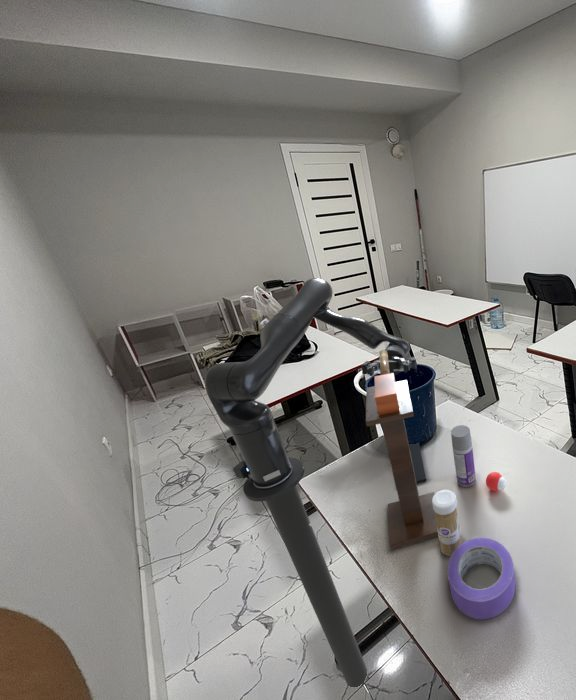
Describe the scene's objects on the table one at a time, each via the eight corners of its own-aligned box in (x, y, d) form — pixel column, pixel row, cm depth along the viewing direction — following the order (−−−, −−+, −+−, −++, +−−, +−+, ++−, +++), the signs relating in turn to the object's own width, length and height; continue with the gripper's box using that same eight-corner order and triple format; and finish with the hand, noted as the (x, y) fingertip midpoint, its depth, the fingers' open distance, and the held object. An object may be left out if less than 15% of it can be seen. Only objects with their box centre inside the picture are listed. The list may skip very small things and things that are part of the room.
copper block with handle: (399, 411, 61) (396, 393, 60) (378, 415, 61) (374, 397, 59) (392, 357, 82) (389, 343, 80) (376, 360, 81) (373, 346, 80)
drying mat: (394, 447, 103) (394, 445, 102) (418, 441, 104) (418, 440, 104) (398, 487, 88) (398, 485, 88) (426, 480, 90) (425, 478, 89)
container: (472, 471, 91) (467, 423, 85) (478, 484, 87) (473, 434, 81) (455, 475, 90) (448, 427, 84) (459, 489, 86) (453, 439, 80)
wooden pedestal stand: (443, 537, 74) (421, 409, 61) (390, 552, 72) (356, 423, 59) (434, 494, 85) (414, 378, 72) (388, 506, 83) (358, 389, 70)
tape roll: (438, 580, 66) (434, 563, 64) (485, 543, 72) (484, 525, 70) (478, 636, 57) (475, 618, 55) (528, 588, 64) (528, 569, 62)
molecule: (483, 491, 85) (482, 477, 83) (492, 477, 88) (491, 464, 87) (502, 498, 82) (501, 484, 81) (510, 484, 86) (510, 470, 84)
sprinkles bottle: (440, 558, 70) (431, 509, 65) (440, 537, 74) (432, 489, 69) (463, 555, 70) (456, 506, 65) (462, 535, 75) (455, 487, 69)
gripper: (417, 370, 107) (417, 382, 91) (369, 374, 105) (360, 387, 89) (415, 345, 106) (414, 353, 90) (366, 349, 104) (356, 358, 88)
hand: (387, 370), depth 89 cm, fingers open, 8 cm apart
